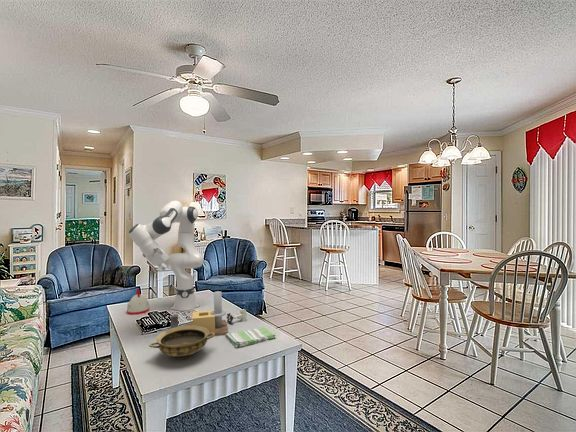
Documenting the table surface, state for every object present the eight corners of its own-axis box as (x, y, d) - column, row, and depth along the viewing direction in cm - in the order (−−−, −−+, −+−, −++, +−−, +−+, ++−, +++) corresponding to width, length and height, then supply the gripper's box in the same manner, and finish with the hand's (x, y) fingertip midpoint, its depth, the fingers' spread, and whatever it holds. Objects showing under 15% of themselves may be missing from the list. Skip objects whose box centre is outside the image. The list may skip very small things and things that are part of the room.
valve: (243, 318, 199) (226, 322, 192) (243, 308, 199) (226, 311, 192) (248, 321, 194) (231, 325, 187) (248, 310, 194) (231, 314, 186)
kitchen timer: (129, 316, 204) (128, 293, 204) (124, 310, 215) (124, 289, 215) (151, 311, 213) (151, 290, 212) (146, 306, 224) (145, 286, 223)
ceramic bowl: (211, 339, 167) (211, 321, 166) (219, 359, 145) (219, 338, 144) (150, 349, 155) (149, 330, 155) (148, 373, 133) (148, 350, 133)
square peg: (171, 332, 176) (171, 315, 176) (178, 332, 177) (177, 314, 177) (171, 335, 173) (170, 317, 173) (177, 334, 174) (177, 316, 174)
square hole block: (193, 325, 184) (192, 291, 183) (225, 321, 189) (224, 289, 188) (192, 332, 172) (192, 297, 172) (226, 329, 177) (226, 294, 177)
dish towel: (224, 337, 171) (224, 331, 170) (262, 329, 182) (262, 323, 182) (235, 349, 156) (235, 343, 156) (276, 339, 167) (276, 333, 167)
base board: (186, 325, 186) (186, 323, 186) (225, 321, 193) (225, 319, 193) (185, 339, 167) (185, 336, 167) (228, 334, 174) (228, 331, 174)
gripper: (162, 243, 169) (178, 263, 172) (150, 249, 184) (165, 267, 187) (152, 250, 165) (169, 271, 168) (141, 255, 180) (156, 274, 183)
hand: (167, 269), depth 178 cm, fingers open, 8 cm apart
